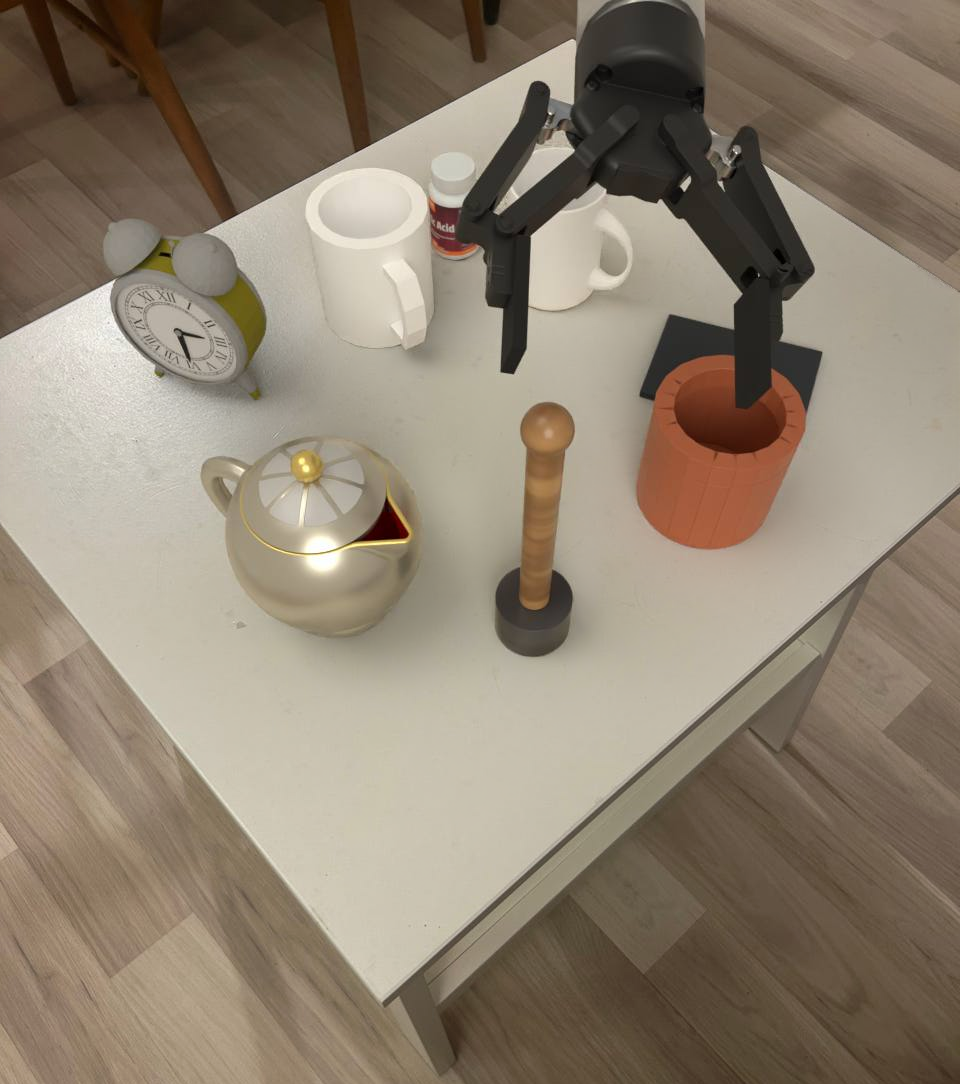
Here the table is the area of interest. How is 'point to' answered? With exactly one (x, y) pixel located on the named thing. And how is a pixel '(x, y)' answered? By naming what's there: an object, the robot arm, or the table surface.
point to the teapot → (319, 532)
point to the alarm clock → (184, 304)
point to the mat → (705, 339)
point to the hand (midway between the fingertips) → (636, 380)
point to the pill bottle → (449, 202)
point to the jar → (715, 454)
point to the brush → (538, 542)
